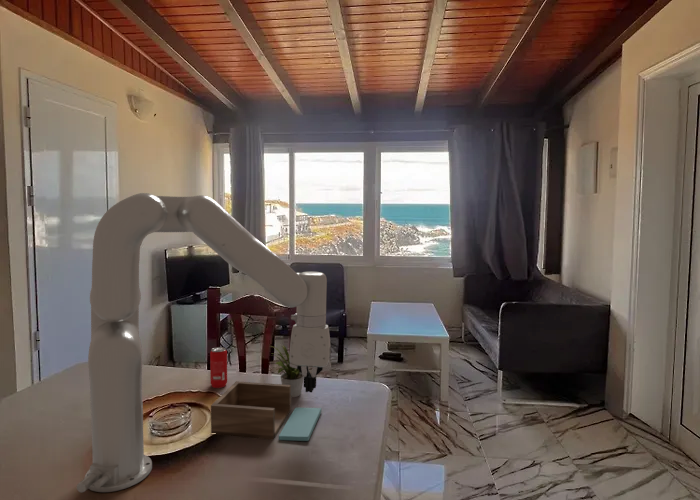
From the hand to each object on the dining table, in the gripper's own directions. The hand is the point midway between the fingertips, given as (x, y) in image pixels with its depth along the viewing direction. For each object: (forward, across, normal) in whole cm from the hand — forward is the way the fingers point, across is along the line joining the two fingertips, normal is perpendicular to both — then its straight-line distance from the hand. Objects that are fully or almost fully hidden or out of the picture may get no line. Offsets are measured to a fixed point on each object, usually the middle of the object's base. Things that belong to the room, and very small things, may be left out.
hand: (309, 390), depth 112 cm
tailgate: (+10, -6, 0) cm, 11 cm away
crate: (+10, -15, 0) cm, 18 cm away
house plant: (+10, -11, +19) cm, 25 cm away
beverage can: (+11, -35, +23) cm, 43 cm away
